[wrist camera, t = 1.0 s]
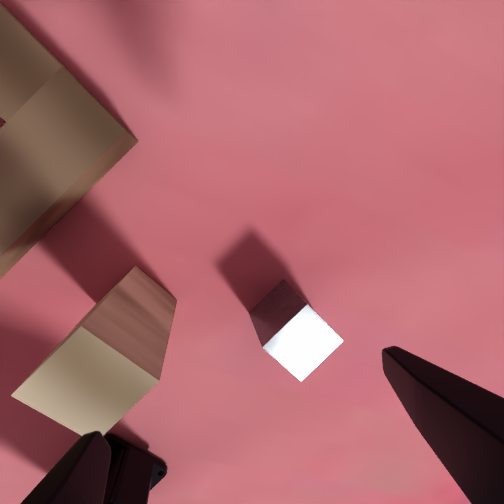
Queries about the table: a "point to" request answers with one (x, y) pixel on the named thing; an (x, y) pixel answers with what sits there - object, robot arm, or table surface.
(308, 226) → the table surface
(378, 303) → the table surface
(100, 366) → the maple pin
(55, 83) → the walnut sleeve block
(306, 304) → the metal stub
